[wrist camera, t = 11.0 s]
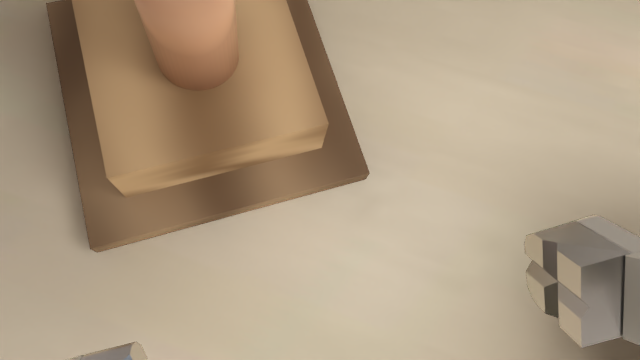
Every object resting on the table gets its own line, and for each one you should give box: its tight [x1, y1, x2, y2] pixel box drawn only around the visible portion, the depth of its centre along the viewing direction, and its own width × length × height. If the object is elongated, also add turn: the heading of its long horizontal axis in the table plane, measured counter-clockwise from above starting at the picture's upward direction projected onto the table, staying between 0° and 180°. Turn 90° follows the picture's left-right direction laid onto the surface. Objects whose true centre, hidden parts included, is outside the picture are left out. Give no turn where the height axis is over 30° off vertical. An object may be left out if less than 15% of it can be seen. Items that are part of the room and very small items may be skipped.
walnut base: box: [46, 0, 369, 252], centre depth 25 cm, size 14×14×4 cm
